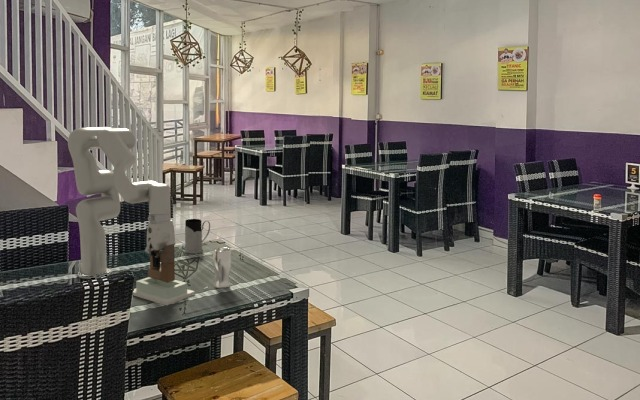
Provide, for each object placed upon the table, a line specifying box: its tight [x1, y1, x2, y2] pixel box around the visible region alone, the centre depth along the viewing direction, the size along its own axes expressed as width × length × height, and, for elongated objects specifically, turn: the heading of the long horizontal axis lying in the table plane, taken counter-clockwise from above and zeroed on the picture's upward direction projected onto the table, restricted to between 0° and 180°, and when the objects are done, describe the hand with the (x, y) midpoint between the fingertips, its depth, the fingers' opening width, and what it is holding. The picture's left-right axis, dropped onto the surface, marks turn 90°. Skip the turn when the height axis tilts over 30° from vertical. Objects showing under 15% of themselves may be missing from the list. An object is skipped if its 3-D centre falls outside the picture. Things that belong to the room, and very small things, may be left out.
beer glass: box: [212, 246, 232, 289], centre depth 214 cm, size 7×7×15 cm
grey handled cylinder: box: [184, 218, 211, 254], centre depth 264 cm, size 9×14×15 cm, turn 140°
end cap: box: [132, 276, 196, 306], centre depth 204 cm, size 20×14×5 cm
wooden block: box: [147, 244, 176, 283], centre depth 202 cm, size 4×11×18 cm, turn 57°
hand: (160, 265), depth 203 cm, fingers closed on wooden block, 3 cm apart
